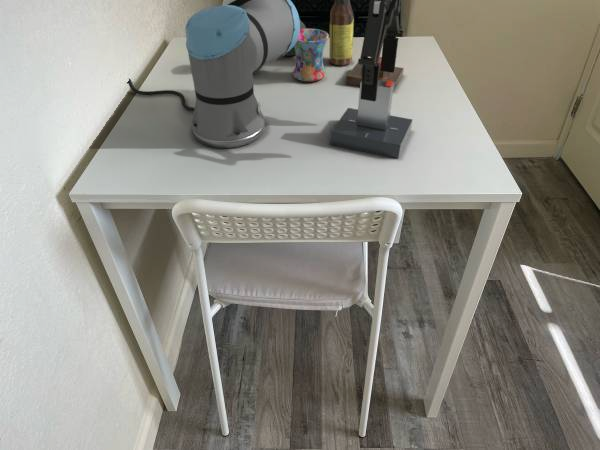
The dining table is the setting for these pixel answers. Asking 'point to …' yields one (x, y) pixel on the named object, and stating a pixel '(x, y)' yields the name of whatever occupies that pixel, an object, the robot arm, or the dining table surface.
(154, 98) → the dining table surface
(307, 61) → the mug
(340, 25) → the sauce bottle
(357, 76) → the button block
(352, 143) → the panel
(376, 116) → the tap handle
